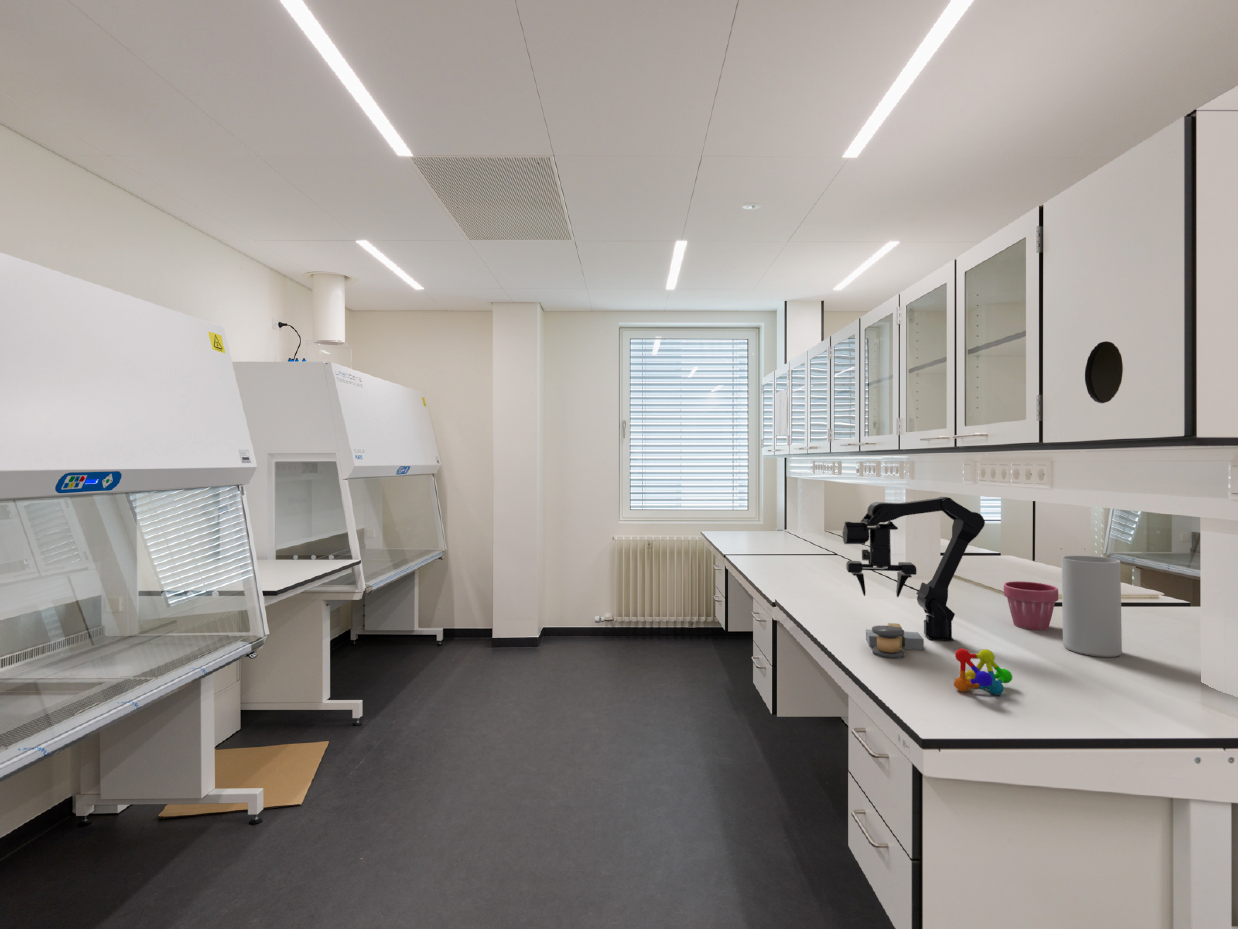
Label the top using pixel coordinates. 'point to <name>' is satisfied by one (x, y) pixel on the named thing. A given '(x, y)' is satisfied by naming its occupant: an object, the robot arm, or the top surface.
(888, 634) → the bobbin
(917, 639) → the notch board
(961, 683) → the molecular model
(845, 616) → the top surface
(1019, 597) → the plant pot
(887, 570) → the robot arm
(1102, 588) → the cylinder vase
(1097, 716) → the top surface
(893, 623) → the tan wooden block
